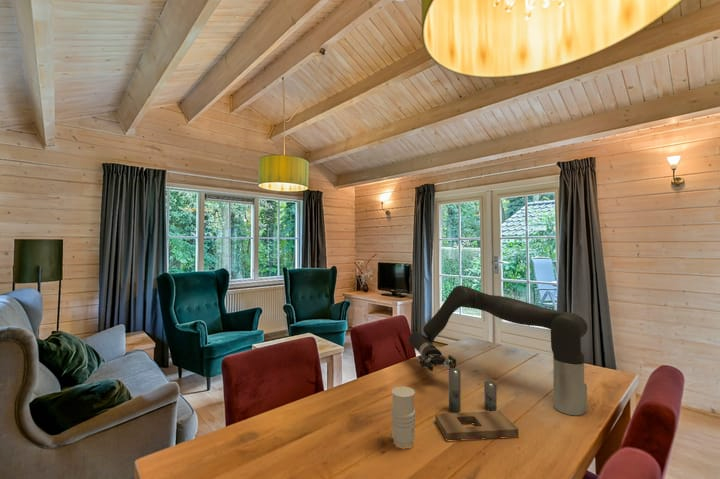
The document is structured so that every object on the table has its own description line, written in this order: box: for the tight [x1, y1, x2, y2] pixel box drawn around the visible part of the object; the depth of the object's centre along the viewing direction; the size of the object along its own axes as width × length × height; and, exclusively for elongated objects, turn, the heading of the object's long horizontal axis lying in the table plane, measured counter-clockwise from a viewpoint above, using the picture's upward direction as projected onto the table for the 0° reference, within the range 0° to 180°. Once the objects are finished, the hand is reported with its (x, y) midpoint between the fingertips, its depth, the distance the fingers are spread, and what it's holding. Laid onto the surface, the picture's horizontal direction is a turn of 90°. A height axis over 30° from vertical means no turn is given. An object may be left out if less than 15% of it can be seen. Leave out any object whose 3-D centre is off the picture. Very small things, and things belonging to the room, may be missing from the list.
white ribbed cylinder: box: [390, 386, 416, 448], centre depth 99 cm, size 7×7×15 cm
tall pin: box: [448, 367, 462, 413], centre depth 118 cm, size 4×4×14 cm
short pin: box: [483, 380, 498, 411], centre depth 119 cm, size 4×4×9 cm
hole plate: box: [434, 410, 519, 441], centre depth 106 cm, size 22×11×2 cm, turn 95°
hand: (443, 368), depth 129 cm, fingers open, 8 cm apart
